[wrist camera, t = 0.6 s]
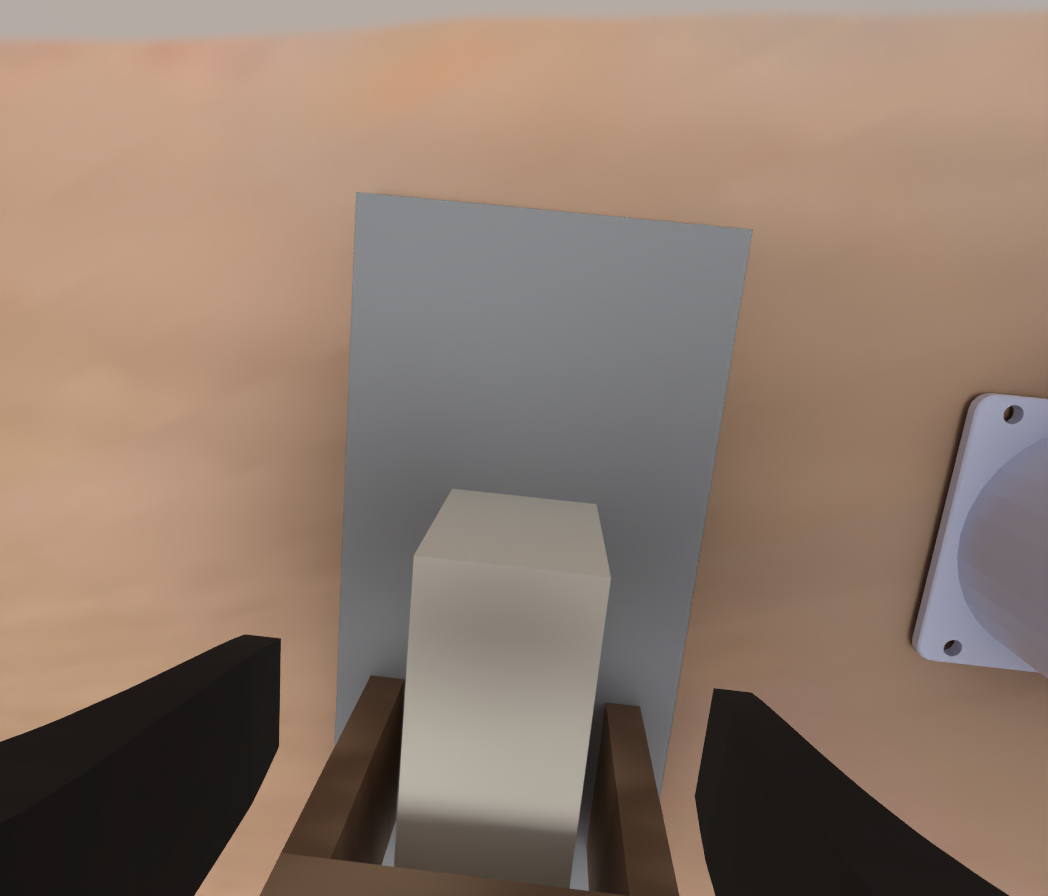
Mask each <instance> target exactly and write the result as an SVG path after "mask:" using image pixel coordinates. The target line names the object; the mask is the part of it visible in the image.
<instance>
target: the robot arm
mask: <svg viewBox="0 0 1048 896" xmlns="http://www.w3.org/2000/svg"><path fill="white" fill-rule="evenodd" d="M1010 406H1012V407H1013V408H1014V414H1013V416H1012V417H1011V418H1010V419H1009V420H1008V421H1005V420H1004V416H1003V414H1004V412H1005V410H1006V409H1007V408H1008V407H1010ZM950 640H954V644H953V645H952V647H950V648H948V649H944V646H945V644H946V643H947V642H948V641H950ZM912 645H913V647H914V649H915V651H916V652H918V653H919V654H920V655H921V656H922V657H923V658H924V659H927V660H930V661H938V662H947V663H956V664H965V665H974V666H983V667H992V668H1001V669H1010V670H1019V671H1028V672H1037V673H1040V674H1042V675H1043V676H1044V677H1046V678H1047V679H1048V399H1046V398H1036V397H1026V396H1016V395H1006V394H997V393H985V394H982V395H980V396H978V397H976V398H975V399H974V400H973V401H972V402H971V404H970V407H969V409H968V413H967V417H966V421H965V425H964V429H963V433H962V437H961V441H960V446H959V450H958V454H957V458H956V462H955V466H954V470H953V474H952V478H951V482H950V486H949V491H948V495H947V499H946V503H945V507H944V511H943V515H942V519H941V523H940V527H939V531H938V536H937V540H936V544H935V548H934V552H933V556H932V560H931V564H930V568H929V572H928V576H927V580H926V585H925V589H924V593H923V597H922V601H921V605H920V609H919V613H918V617H917V621H916V625H915V630H914V634H913V638H912ZM280 653H281V639H280V638H271V637H262V636H254V635H242V636H240V637H237V638H234V639H232V640H230V641H227V642H225V643H223V644H221V645H219V646H217V647H214V648H212V649H210V650H208V651H206V652H204V653H202V654H200V655H198V656H196V657H194V658H192V659H190V660H187V661H185V662H183V663H181V664H179V665H177V666H175V667H173V668H171V669H169V670H167V671H165V672H163V673H161V674H159V675H157V676H154V677H152V678H150V679H148V680H146V681H144V682H142V683H140V684H138V685H136V686H134V687H132V688H129V689H127V690H125V691H123V692H120V693H118V694H116V695H114V696H111V697H109V698H107V699H105V700H102V701H100V702H98V703H96V704H93V705H91V706H89V707H86V708H84V709H82V710H80V711H77V712H75V713H73V714H71V715H68V716H66V717H64V718H61V719H59V720H56V721H54V722H52V723H49V724H47V725H44V726H42V727H39V728H36V729H34V730H31V731H29V732H26V733H24V734H21V735H18V736H15V737H12V738H10V739H7V740H4V741H1V742H0V896H194V895H195V893H196V892H197V890H198V889H199V887H200V886H201V884H202V882H203V881H204V879H205V878H206V876H207V875H208V873H209V871H210V870H211V868H212V867H213V865H214V864H215V862H216V861H217V859H218V857H219V856H220V854H221V853H222V851H223V850H224V848H225V846H226V845H227V843H228V842H229V840H230V838H231V837H232V835H233V834H234V832H235V830H236V829H237V827H238V826H239V824H240V822H241V821H242V819H243V818H244V816H245V814H246V813H247V811H248V809H249V808H250V806H251V805H252V803H253V801H254V798H255V796H256V794H257V792H258V790H259V788H260V786H261V784H262V782H263V780H264V778H265V776H266V774H267V771H268V769H269V767H270V765H271V763H272V761H273V758H274V756H275V754H276V752H277V750H278V747H279V711H280ZM695 800H696V807H697V813H698V820H699V826H700V832H701V838H702V844H703V849H704V855H705V860H706V864H707V867H708V871H709V875H710V878H711V882H712V885H713V888H714V892H715V895H716V896H1009V895H1007V894H1006V893H1004V892H1003V891H1001V890H1000V889H998V888H997V887H995V886H993V885H992V884H990V883H989V882H987V881H986V880H984V879H983V878H981V877H980V876H978V875H977V874H976V873H974V872H973V871H971V870H970V869H968V868H967V867H965V866H964V865H963V864H961V863H960V862H958V861H957V860H955V859H954V858H952V857H951V856H950V855H948V854H947V853H945V852H944V851H942V850H941V849H940V848H938V847H937V846H935V845H934V844H932V843H931V842H930V841H928V840H927V839H926V838H924V837H923V836H922V835H920V834H919V833H917V832H916V831H915V830H913V829H912V828H911V827H909V826H908V825H907V824H906V823H904V822H903V821H902V820H901V819H899V818H898V817H897V816H895V815H894V814H893V813H892V812H890V811H889V810H888V809H887V808H885V807H884V806H883V805H882V804H880V803H879V802H878V801H877V800H875V799H874V798H873V797H871V796H870V795H869V794H868V793H867V792H865V791H864V790H863V789H862V788H861V787H859V786H858V785H857V784H856V783H855V782H853V781H852V780H851V779H850V778H849V777H847V776H846V775H845V774H844V773H843V772H842V771H840V770H839V769H838V768H837V767H836V766H835V765H834V764H832V763H831V762H830V761H829V760H828V759H827V758H826V757H824V756H823V755H822V754H821V753H820V752H819V751H818V750H817V749H815V748H814V747H813V746H812V745H811V744H810V743H809V742H808V741H806V740H805V739H804V738H803V737H802V736H801V735H800V734H799V733H798V732H797V731H795V730H794V729H793V728H792V727H791V726H790V725H789V724H788V723H787V722H785V721H784V720H783V719H782V718H781V717H780V716H779V715H778V714H776V713H775V712H774V711H773V710H772V709H771V708H770V707H769V706H767V705H766V704H765V703H764V702H763V701H761V700H760V699H759V698H758V697H756V696H755V695H754V694H753V693H750V692H741V691H732V690H724V689H715V688H714V690H713V696H712V702H711V707H710V713H709V719H708V725H707V730H706V736H705V742H704V747H703V753H702V759H701V764H700V770H699V776H698V782H697V787H696V793H695Z"/></svg>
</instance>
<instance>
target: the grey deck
mask: <svg viewBox="0 0 1048 896" xmlns="http://www.w3.org/2000/svg"><path fill="white" fill-rule="evenodd" d="M752 231H753V230H752V229H741V228H731V227H720V226H710V225H699V224H689V223H678V222H668V221H657V220H646V219H636V218H625V217H615V216H604V215H594V214H583V213H572V212H562V211H551V210H541V209H530V208H520V207H509V206H499V205H488V204H477V203H467V202H456V201H446V200H435V199H425V198H414V197H403V196H393V195H382V194H372V193H361V192H356V210H355V235H354V261H353V286H352V312H351V338H350V363H349V389H348V415H347V440H346V466H345V492H344V517H343V543H342V568H341V594H340V620H339V645H338V671H337V697H336V722H335V745H336V743H337V741H338V739H339V737H340V735H341V733H342V731H343V729H344V727H345V725H346V723H347V721H348V719H349V717H350V715H351V713H352V712H353V710H354V708H355V706H356V704H357V702H358V700H359V698H360V696H361V694H362V692H363V690H364V688H365V686H366V684H367V682H368V680H369V678H370V676H371V675H372V676H380V677H389V678H398V679H404V688H403V704H402V720H401V735H400V751H399V767H398V783H397V799H396V814H395V824H394V827H393V831H392V834H391V837H390V840H389V843H388V846H387V850H386V853H385V856H384V859H383V862H382V865H383V866H392V867H394V856H395V841H396V825H397V809H398V794H399V778H400V762H401V747H402V731H403V716H404V700H405V684H406V669H407V653H408V637H409V622H410V606H411V591H412V575H413V559H414V554H415V553H416V551H417V549H418V547H419V546H420V544H421V542H422V540H423V539H424V537H425V535H426V533H427V532H428V530H429V528H430V526H431V525H432V523H433V521H434V520H435V518H436V516H437V514H438V513H439V511H440V509H441V507H442V506H443V504H444V502H445V500H446V499H447V497H448V495H449V493H450V492H451V490H452V489H460V490H469V491H479V492H488V493H498V494H507V495H516V496H526V497H535V498H544V499H554V500H563V501H572V502H582V503H591V504H597V509H598V514H599V519H600V524H601V529H602V534H603V539H604V544H605V549H606V554H607V560H608V565H609V570H610V575H611V581H610V589H609V596H608V604H607V611H606V619H605V626H604V634H603V641H602V649H601V656H600V664H599V671H598V679H597V686H596V694H595V701H594V708H593V716H592V723H591V731H590V738H589V746H588V753H587V761H586V768H585V776H584V783H583V791H582V798H581V806H580V813H579V821H578V828H577V836H576V843H575V851H574V858H573V866H572V873H571V881H570V889H578V890H586V891H589V887H588V868H587V849H586V845H587V837H588V830H589V823H590V816H591V808H592V801H593V794H594V787H595V779H596V772H597V765H598V758H599V750H600V743H601V736H602V729H603V721H604V714H605V707H606V703H615V704H623V705H632V706H640V708H641V713H642V718H643V723H644V728H645V733H646V737H647V742H648V747H649V752H650V757H651V762H652V766H653V771H654V776H655V781H656V786H657V791H658V796H659V800H660V794H661V788H662V782H663V776H664V770H665V764H666V758H667V752H668V745H669V739H670V733H671V727H672V721H673V715H674V709H675V703H676V696H677V690H678V684H679V678H680V672H681V666H682V660H683V654H684V647H685V641H686V635H687V629H688V623H689V617H690V611H691V605H692V599H693V592H694V586H695V580H696V574H697V568H698V562H699V556H700V550H701V543H702V537H703V531H704V525H705V519H706V513H707V507H708V501H709V495H710V488H711V482H712V476H713V470H714V464H715V458H716V452H717V446H718V439H719V433H720V427H721V421H722V415H723V409H724V403H725V397H726V391H727V384H728V378H729V372H730V366H731V360H732V354H733V348H734V342H735V335H736V329H737V323H738V317H739V311H740V305H741V299H742V293H743V287H744V280H745V274H746V268H747V262H748V256H749V250H750V244H751V238H752Z"/></svg>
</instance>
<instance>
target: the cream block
mask: <svg viewBox="0 0 1048 896" xmlns="http://www.w3.org/2000/svg"><path fill="white" fill-rule="evenodd" d="M610 581H611V575H610V570H609V565H608V560H607V554H606V549H605V544H604V539H603V534H602V529H601V524H600V519H599V514H598V509H597V504H591V503H582V502H572V501H563V500H554V499H544V498H535V497H526V496H516V495H507V494H498V493H488V492H479V491H469V490H460V489H452V490H451V492H450V493H449V495H448V497H447V499H446V500H445V502H444V504H443V506H442V507H441V509H440V511H439V513H438V514H437V516H436V518H435V520H434V521H433V523H432V525H431V526H430V528H429V530H428V532H427V533H426V535H425V537H424V539H423V540H422V542H421V544H420V546H419V547H418V549H417V551H416V553H415V554H414V559H413V575H412V591H411V606H410V622H409V637H408V653H407V669H406V684H405V700H404V716H403V731H402V747H401V762H400V778H399V794H398V809H397V825H396V841H395V856H394V867H400V868H408V869H416V870H424V871H432V872H440V873H448V874H456V875H465V876H473V877H481V878H489V879H497V880H505V881H513V882H521V883H529V884H538V885H546V886H554V887H562V888H570V881H571V873H572V866H573V858H574V851H575V843H576V836H577V828H578V821H579V813H580V806H581V798H582V791H583V783H584V776H585V768H586V761H587V753H588V746H589V738H590V731H591V723H592V716H593V708H594V701H595V694H596V686H597V679H598V671H599V664H600V656H601V649H602V641H603V634H604V626H605V619H606V611H607V604H608V596H609V589H610Z"/></svg>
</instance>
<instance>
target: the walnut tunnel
mask: <svg viewBox="0 0 1048 896" xmlns="http://www.w3.org/2000/svg"><path fill="white" fill-rule="evenodd" d="M403 688H404V679H398V678H389V677H380V676H372V675H371V676H370V678H369V680H368V682H367V684H366V686H365V688H364V690H363V692H362V694H361V696H360V698H359V700H358V702H357V704H356V706H355V708H354V710H353V712H352V713H351V715H350V717H349V719H348V721H347V723H346V725H345V727H344V729H343V731H342V733H341V735H340V737H339V739H338V741H337V743H336V745H335V747H334V749H333V751H332V753H331V755H330V757H329V759H328V761H327V763H326V765H325V767H324V769H323V771H322V773H321V775H320V777H319V779H318V781H317V783H316V785H315V787H314V789H313V791H312V793H311V795H310V797H309V799H308V801H307V803H306V805H305V807H304V809H303V811H302V813H301V815H300V817H299V819H298V821H297V823H296V825H295V827H294V828H293V830H292V832H291V834H290V836H289V838H288V840H287V842H286V844H285V846H284V848H283V850H282V852H281V854H280V856H279V858H278V860H277V862H276V864H275V866H274V868H273V870H272V872H271V874H270V876H269V878H268V880H267V882H266V884H265V886H264V888H263V890H262V892H261V894H260V896H679V893H678V888H677V883H676V878H675V873H674V868H673V863H672V859H671V854H670V849H669V844H668V839H667V834H666V830H665V825H664V820H663V815H662V810H661V805H660V800H659V796H658V791H657V786H656V781H655V776H654V771H653V766H652V762H651V757H650V752H649V747H648V742H647V737H646V733H645V728H644V723H643V718H642V713H641V708H640V706H632V705H623V704H615V703H606V707H605V714H604V721H603V729H602V736H601V743H600V750H599V758H598V765H597V772H596V779H595V787H594V794H593V801H592V808H591V816H590V823H589V830H588V837H587V845H586V849H587V868H588V887H589V891H586V890H578V889H570V888H562V887H554V886H546V885H538V884H529V883H521V882H513V881H505V880H497V879H489V878H481V877H473V876H465V875H456V874H448V873H440V872H432V871H424V870H416V869H408V868H400V867H392V866H383V865H382V862H383V859H384V856H385V853H386V850H387V846H388V843H389V840H390V837H391V834H392V831H393V827H394V824H395V814H396V799H397V783H398V767H399V751H400V735H401V720H402V704H403Z"/></svg>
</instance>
